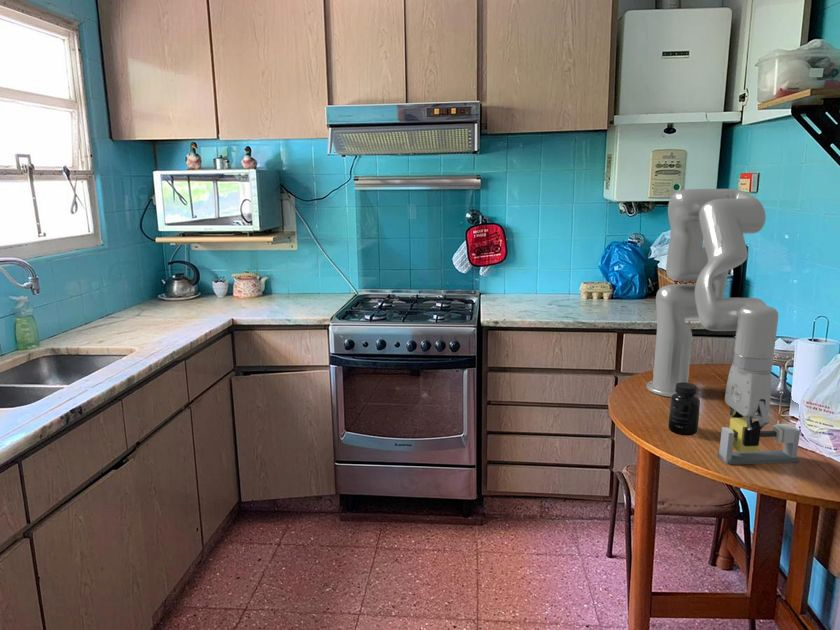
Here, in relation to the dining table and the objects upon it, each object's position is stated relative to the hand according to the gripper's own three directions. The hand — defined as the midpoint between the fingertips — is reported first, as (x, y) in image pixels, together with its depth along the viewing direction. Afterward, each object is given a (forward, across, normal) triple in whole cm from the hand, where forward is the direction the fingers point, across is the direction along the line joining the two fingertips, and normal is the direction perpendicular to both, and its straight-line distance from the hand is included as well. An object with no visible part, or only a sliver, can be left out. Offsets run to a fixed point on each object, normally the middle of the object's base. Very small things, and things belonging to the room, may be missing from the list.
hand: (743, 439), depth 137 cm
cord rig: (+5, 0, +4) cm, 6 cm away
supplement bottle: (+5, -16, -6) cm, 18 cm away
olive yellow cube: (+2, 0, 0) cm, 2 cm away
